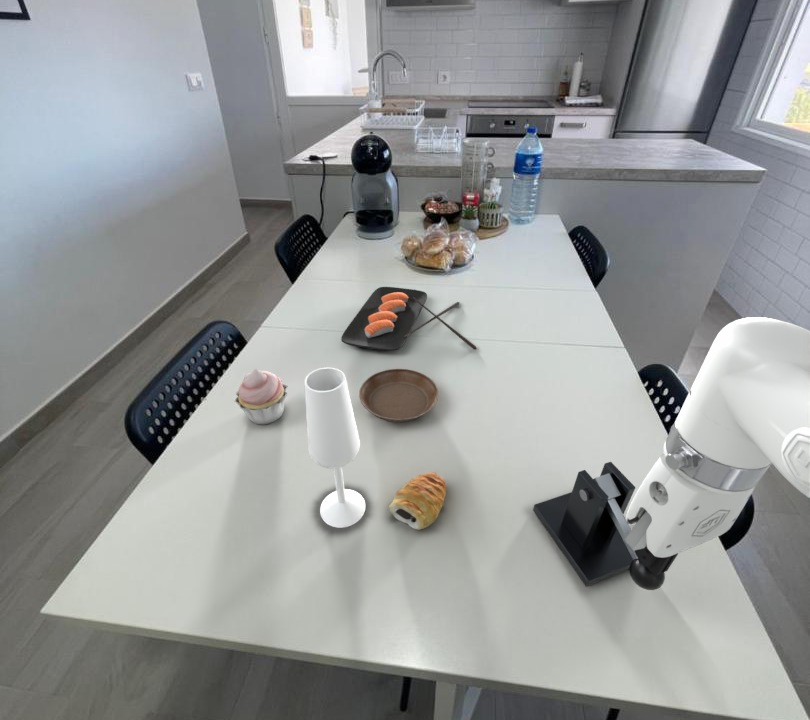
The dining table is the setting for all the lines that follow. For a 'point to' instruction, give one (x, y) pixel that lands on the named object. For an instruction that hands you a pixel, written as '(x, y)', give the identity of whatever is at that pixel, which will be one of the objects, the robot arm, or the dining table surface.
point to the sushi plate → (390, 319)
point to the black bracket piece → (589, 526)
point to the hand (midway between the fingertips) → (649, 561)
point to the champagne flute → (333, 441)
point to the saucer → (398, 394)
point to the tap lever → (637, 569)
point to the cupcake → (262, 396)
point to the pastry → (419, 501)
